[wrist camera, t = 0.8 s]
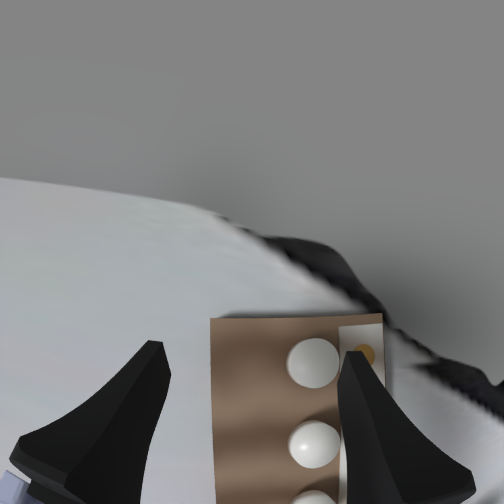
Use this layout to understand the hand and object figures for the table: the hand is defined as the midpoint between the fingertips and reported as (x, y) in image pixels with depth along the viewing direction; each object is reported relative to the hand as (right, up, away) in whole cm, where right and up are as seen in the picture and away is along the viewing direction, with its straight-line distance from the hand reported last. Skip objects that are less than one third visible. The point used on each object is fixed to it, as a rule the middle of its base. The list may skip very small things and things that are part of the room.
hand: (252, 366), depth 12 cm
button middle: (+5, -11, +10) cm, 16 cm away
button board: (+4, -12, +14) cm, 19 cm away
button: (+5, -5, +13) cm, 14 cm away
